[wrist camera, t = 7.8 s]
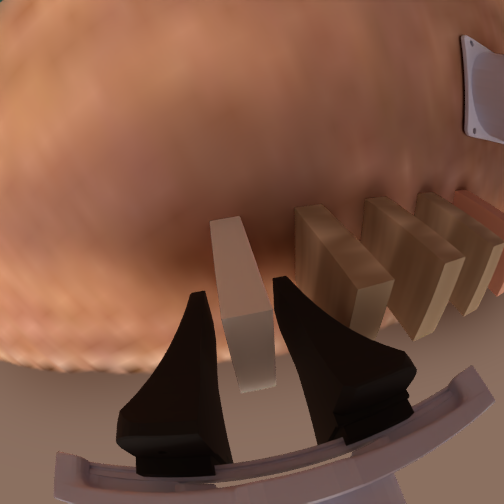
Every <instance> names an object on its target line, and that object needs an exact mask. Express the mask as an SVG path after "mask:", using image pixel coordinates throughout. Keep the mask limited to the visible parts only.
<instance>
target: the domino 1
mask: <svg viewBox="0 0 504 504" xmlns="http://www.w3.org/2000/svg"><path fill="white" fill-rule="evenodd" d="M294 214H295V282H296V284H297V286H298V288H299V289H300V290H301V291H302V292H303V293H304V294H305V295H306V296H307V297H308V298H309V299H310V300H312V301H313V302H314V303H315V304H316V305H317V306H318V307H320V308H321V309H322V310H323V311H325V312H326V313H327V314H329V315H330V316H331V317H333V318H334V319H336V320H337V321H339V322H340V323H342V324H343V325H345V326H346V327H348V328H350V329H351V330H353V331H355V332H357V333H359V334H361V335H363V336H365V337H367V338H369V339H371V340H374V341H375V339H376V336H377V333H378V331H379V328H380V325H381V322H382V319H383V316H384V313H385V310H386V307H387V304H388V300H389V297H390V294H391V290H392V287H393V283H394V280H395V279H394V278H393V277H392V276H391V275H390V274H389V273H388V272H387V270H386V269H385V268H384V267H383V266H382V265H381V264H380V263H379V262H378V261H377V259H376V258H375V257H374V256H373V255H372V254H371V253H370V252H369V251H368V250H367V249H366V248H365V247H364V246H363V245H362V244H361V243H360V241H359V240H358V239H357V238H356V237H355V236H354V235H353V234H352V233H351V232H350V231H349V230H348V229H347V228H346V227H345V226H344V225H343V224H342V223H341V222H340V221H339V220H338V219H337V218H336V217H335V216H334V215H333V214H332V213H331V212H329V211H328V210H327V209H326V208H325V207H324V206H323V205H322V204H317V205H309V206H302V207H295V208H294Z"/></svg>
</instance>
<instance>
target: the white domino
mask: <svg viewBox="0 0 504 504" xmlns="http://www.w3.org/2000/svg"><path fill="white" fill-rule="evenodd" d="M209 222H210V231H211V240H212V249H213V258H214V267H215V275H216V283H217V291H218V298H219V306H220V313H221V320H222V324H223V328H224V332H225V336H226V340H227V344H228V348H229V351H230V355H231V359H232V363H233V366H234V370H235V374H236V377H237V381H238V385H239V388H240V392H241V393H245V392H250V391H256V390H261V389H266V388H270V387H274V386H276V369H275V368H276V366H275V345H274V325H273V309H272V306H271V303H270V300H269V298H268V295H267V292H266V289H265V286H264V283H263V280H262V278H261V275H260V272H259V269H258V266H257V263H256V260H255V258H254V255H253V252H252V249H251V246H250V243H249V241H248V238H247V235H246V232H245V229H244V226H243V223H242V221H241V218H240V216H236V217H230V218H224V219H218V220H212V221H209Z"/></svg>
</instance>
